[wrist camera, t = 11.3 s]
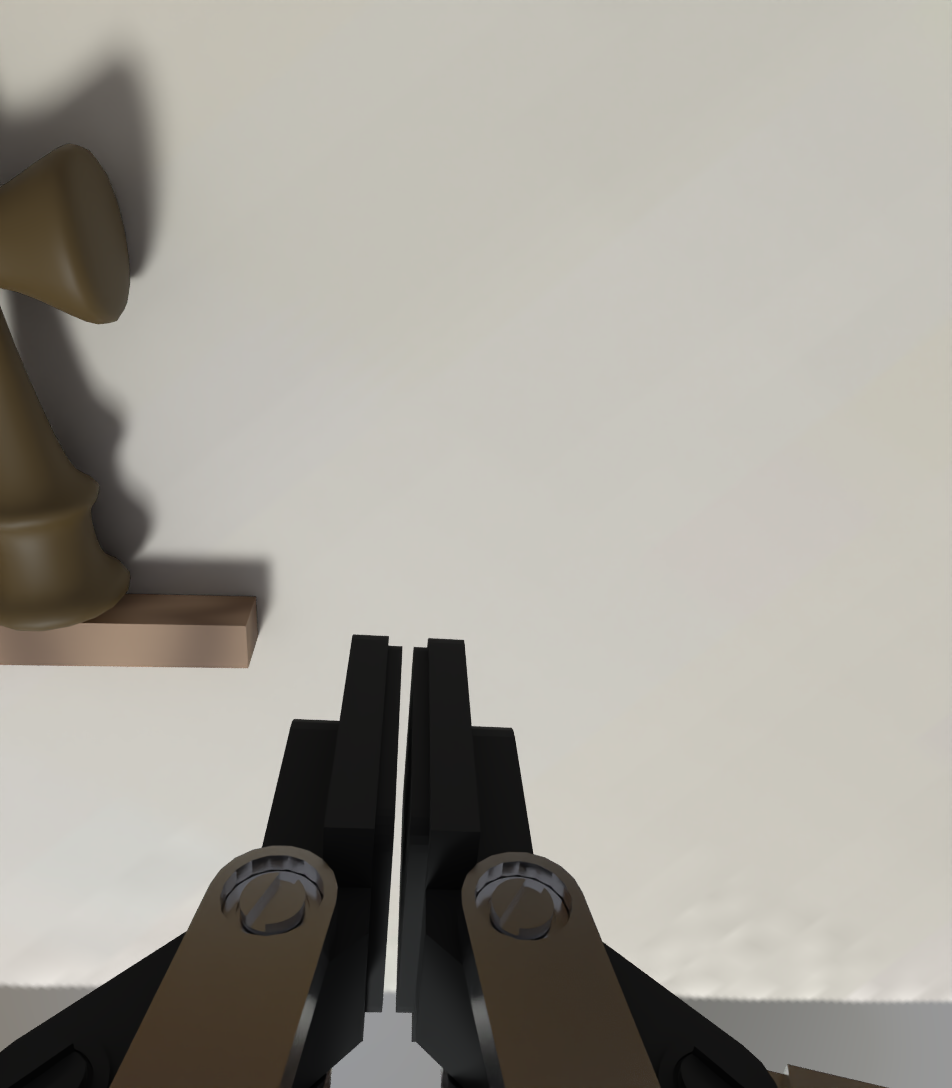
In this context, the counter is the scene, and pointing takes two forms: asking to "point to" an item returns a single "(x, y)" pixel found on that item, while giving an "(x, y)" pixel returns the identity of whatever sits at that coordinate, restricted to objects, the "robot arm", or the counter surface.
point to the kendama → (15, 412)
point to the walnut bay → (146, 635)
